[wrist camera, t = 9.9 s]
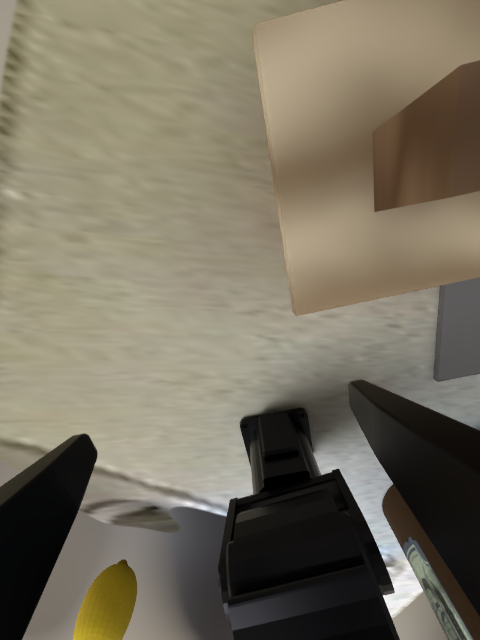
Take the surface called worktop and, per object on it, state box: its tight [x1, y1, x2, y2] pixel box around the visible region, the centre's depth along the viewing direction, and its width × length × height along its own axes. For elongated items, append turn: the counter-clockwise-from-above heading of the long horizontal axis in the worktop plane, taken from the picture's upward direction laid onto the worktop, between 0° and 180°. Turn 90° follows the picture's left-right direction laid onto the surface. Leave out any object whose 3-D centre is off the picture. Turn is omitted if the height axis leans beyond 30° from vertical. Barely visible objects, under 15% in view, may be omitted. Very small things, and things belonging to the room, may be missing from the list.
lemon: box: [74, 560, 137, 640], centre depth 26 cm, size 6×6×8 cm
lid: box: [253, 0, 480, 316], centre depth 10 cm, size 13×13×5 cm
